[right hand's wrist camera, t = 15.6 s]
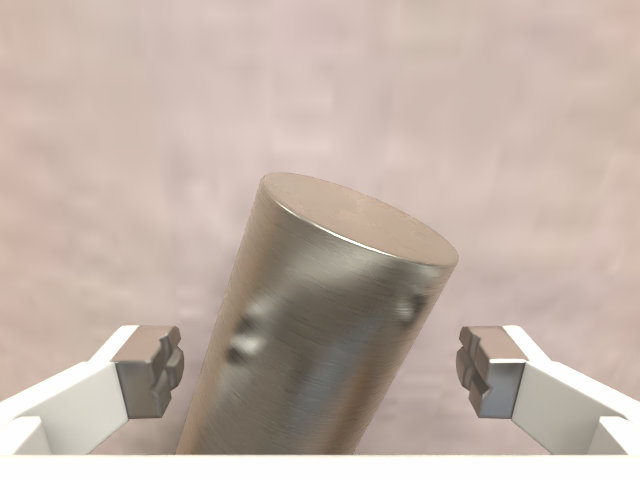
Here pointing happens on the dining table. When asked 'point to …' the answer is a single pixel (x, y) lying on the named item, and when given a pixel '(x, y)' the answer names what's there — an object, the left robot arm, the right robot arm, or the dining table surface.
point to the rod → (313, 321)
